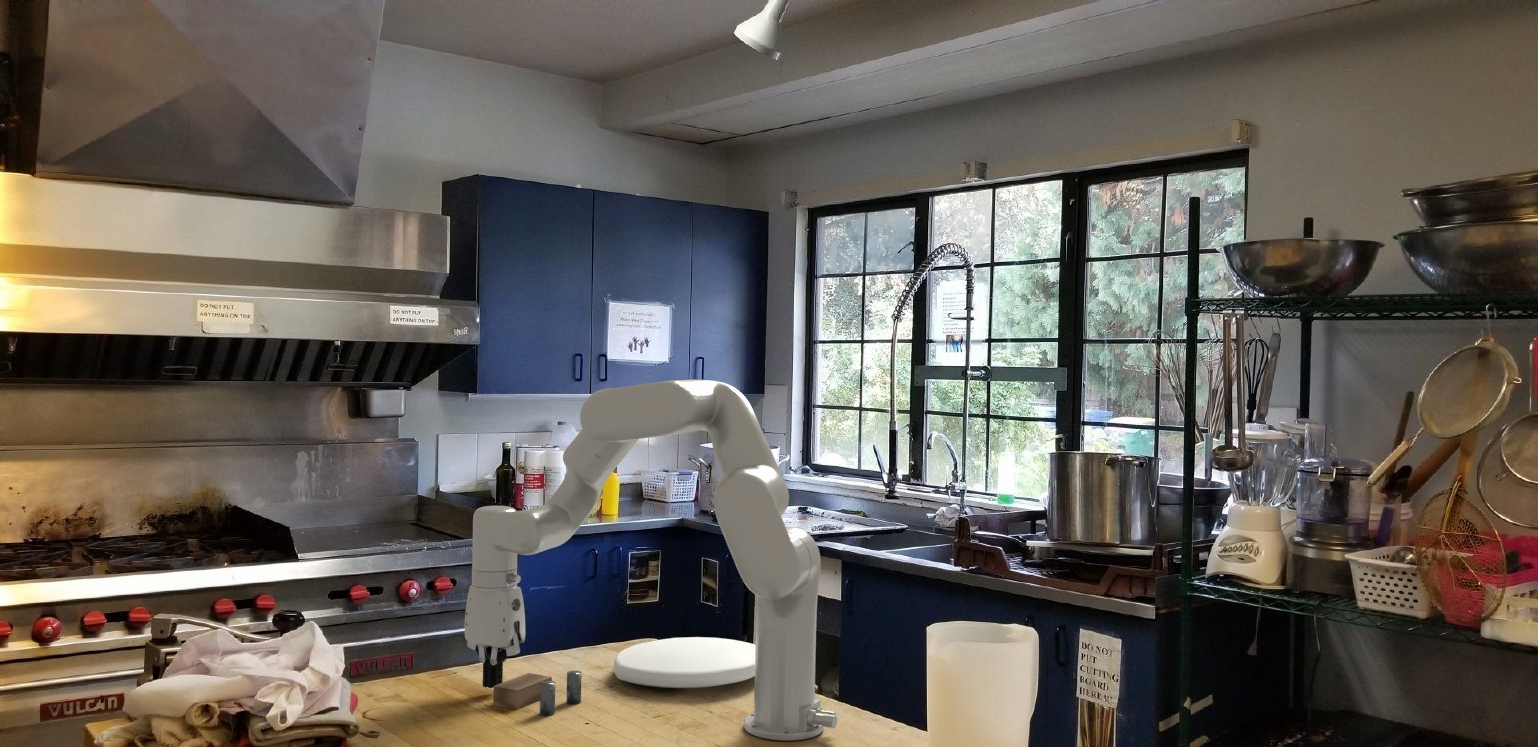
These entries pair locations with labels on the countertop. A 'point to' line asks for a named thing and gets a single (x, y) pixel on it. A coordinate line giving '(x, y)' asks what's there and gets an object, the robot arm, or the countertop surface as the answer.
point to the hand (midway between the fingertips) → (492, 685)
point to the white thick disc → (686, 662)
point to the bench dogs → (549, 693)
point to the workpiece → (519, 691)
